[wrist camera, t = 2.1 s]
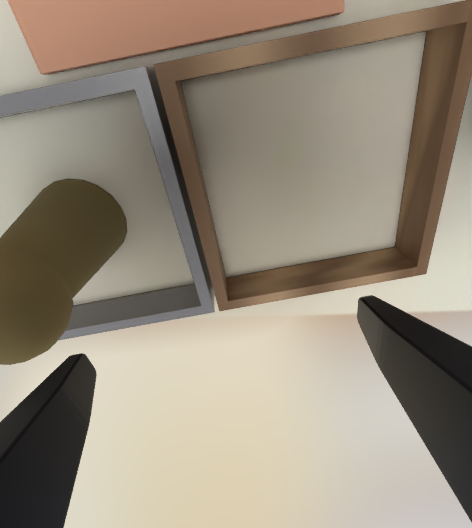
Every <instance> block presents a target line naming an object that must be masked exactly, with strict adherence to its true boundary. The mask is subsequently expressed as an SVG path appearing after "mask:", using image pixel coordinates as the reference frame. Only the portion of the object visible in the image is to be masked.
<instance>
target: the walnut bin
mask: <svg viewBox="0 0 472 528" xmlns="http://www.w3.org/2000/svg"><path fill="white" fill-rule="evenodd" d="M424 31H427V33H426V40H425V47H424V54H423V60H422V67H421V74H420V81H419V88H418V94H417V101H416V108H415V115H414V121H413V128H412V135H411V142H410V149H409V155H408V162H407V169H406V176H405V183H404V189H403V196H402V203H401V210H400V217H399V223H398V230H397V237H396V244H395V247H393V248H387V249H382V250H376V251H371V252H365V253H360V254H355V255H349V256H344V257H338V258H333V259H327V260H322V261H316V262H311V263H305V264H300V265H295V266H289V267H284V268H278V269H273V270H267V271H262V272H256V273H251V274H246V275H240V276H235V277H229V278H226V275H225V271H224V267H223V262H222V258H221V254H220V249H219V245H218V241H217V236H216V232H215V228H214V224H213V219H212V215H211V211H210V206H209V202H208V198H207V193H206V189H205V185H204V180H203V176H202V172H201V167H200V163H199V159H198V155H197V150H196V146H195V142H194V137H193V133H192V129H191V124H190V120H189V116H188V111H187V107H186V103H185V99H184V94H183V90H182V86H181V81H183V80H187V79H192V78H197V77H202V76H207V75H212V74H217V73H222V72H227V71H232V70H237V69H242V68H247V67H251V66H256V65H261V64H266V63H271V62H276V61H281V60H286V59H291V58H296V57H301V56H306V55H311V54H315V53H320V52H325V51H330V50H335V49H340V48H345V47H350V46H355V45H360V44H365V43H370V42H375V41H379V40H384V39H389V38H394V37H399V36H404V35H409V34H414V33H419V32H424ZM154 68H155V72H156V76H157V79H158V83H159V87H160V91H161V94H162V98H163V102H164V105H165V109H166V113H167V117H168V120H169V124H170V128H171V132H172V135H173V139H174V143H175V147H176V150H177V154H178V158H179V162H180V165H181V169H182V173H183V176H184V180H185V184H186V188H187V191H188V195H189V199H190V203H191V206H192V210H193V214H194V218H195V221H196V225H197V229H198V233H199V236H200V240H201V244H202V247H203V251H204V255H205V259H206V262H207V266H208V270H209V274H210V277H211V281H212V285H213V289H214V292H215V296H216V300H217V304H218V307H219V311H223V310H229V309H234V308H240V307H246V306H251V305H257V304H262V303H268V302H273V301H279V300H284V299H290V298H295V297H301V296H307V295H312V294H318V293H323V292H329V291H334V290H340V289H345V288H351V287H356V286H362V285H368V284H373V283H379V282H384V281H390V280H395V279H401V278H406V277H412V276H417V275H423V274H426V272H427V268H428V263H429V259H430V255H431V250H432V246H433V241H434V237H435V233H436V228H437V224H438V219H439V215H440V211H441V206H442V202H443V197H444V193H445V189H446V184H447V180H448V175H449V171H450V167H451V162H452V158H453V153H454V149H455V145H456V140H457V136H458V132H459V127H460V123H461V118H462V114H463V110H464V105H465V101H466V96H467V92H468V88H469V83H470V79H471V74H472V0H465V1H460V2H456V3H451V4H446V5H441V6H436V7H431V8H426V9H422V10H417V11H412V12H407V13H402V14H397V15H392V16H387V17H383V18H378V19H373V20H368V21H363V22H358V23H353V24H348V25H344V26H339V27H334V28H329V29H324V30H319V31H314V32H309V33H305V34H300V35H295V36H290V37H285V38H280V39H275V40H270V41H266V42H261V43H256V44H251V45H246V46H241V47H236V48H232V49H227V50H222V51H217V52H212V53H207V54H202V55H197V56H193V57H188V58H183V59H178V60H173V61H168V62H163V63H158V64H154Z"/></svg>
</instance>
